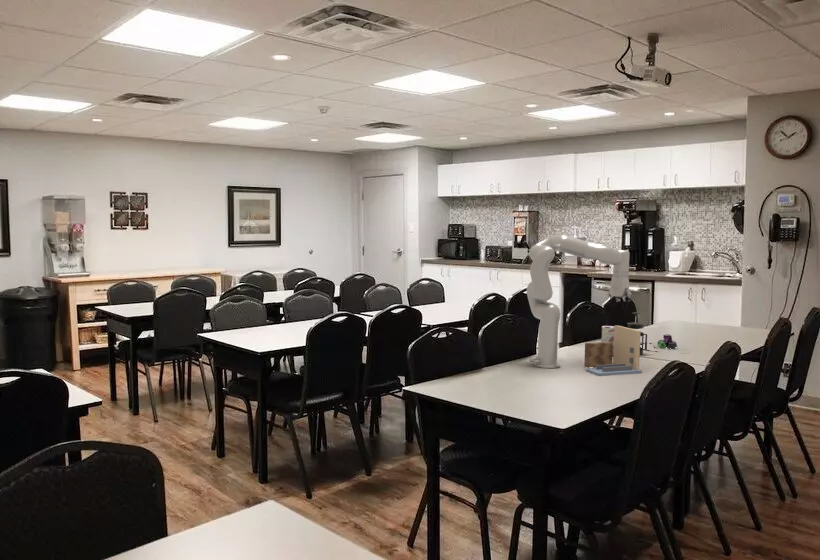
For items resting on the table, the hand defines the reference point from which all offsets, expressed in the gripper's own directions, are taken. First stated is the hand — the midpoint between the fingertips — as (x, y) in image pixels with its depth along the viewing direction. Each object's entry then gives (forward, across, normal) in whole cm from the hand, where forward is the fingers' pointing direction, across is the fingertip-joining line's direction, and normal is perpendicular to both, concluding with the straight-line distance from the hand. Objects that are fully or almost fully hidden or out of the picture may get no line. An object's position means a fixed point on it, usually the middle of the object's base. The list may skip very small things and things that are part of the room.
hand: (619, 307), depth 334 cm
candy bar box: (+28, -14, +7) cm, 33 cm away
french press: (+28, -17, +24) cm, 41 cm away
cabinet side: (+28, +13, -15) cm, 35 cm away
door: (+29, +6, -15) cm, 33 cm away
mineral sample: (+29, -30, +55) cm, 68 cm away
